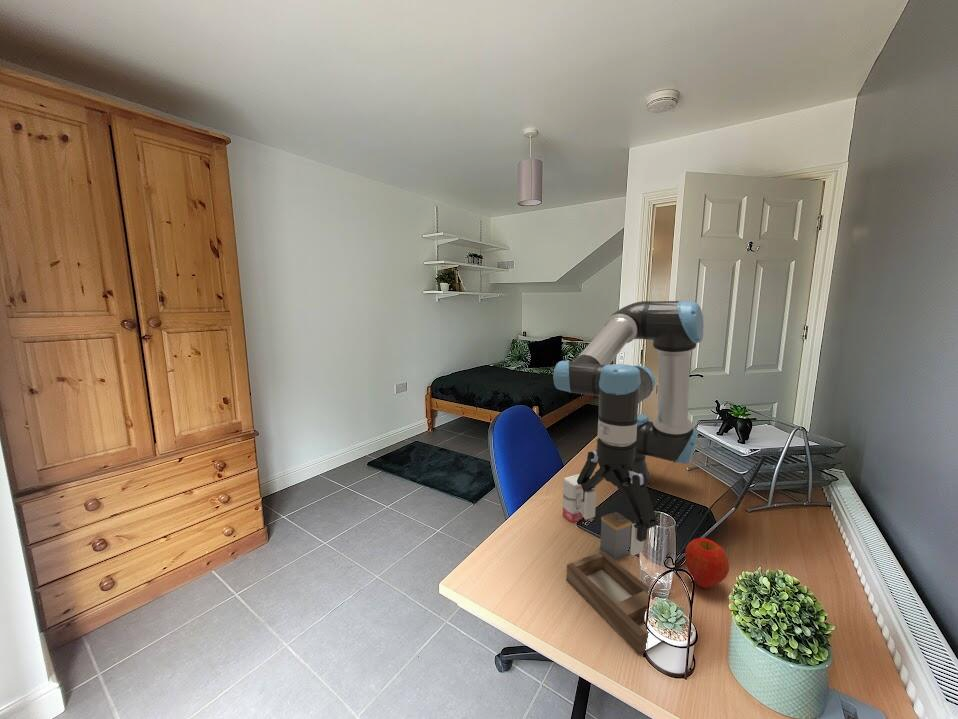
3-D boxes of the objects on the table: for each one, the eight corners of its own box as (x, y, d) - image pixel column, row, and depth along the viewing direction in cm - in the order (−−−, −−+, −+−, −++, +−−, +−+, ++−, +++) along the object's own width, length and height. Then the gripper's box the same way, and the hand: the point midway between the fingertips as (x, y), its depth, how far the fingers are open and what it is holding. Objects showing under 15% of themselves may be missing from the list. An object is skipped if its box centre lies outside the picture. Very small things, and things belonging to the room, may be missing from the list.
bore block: (602, 565, 94) (603, 550, 93) (679, 632, 75) (681, 614, 74) (566, 580, 89) (566, 564, 88) (639, 655, 70) (640, 636, 70)
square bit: (614, 542, 102) (616, 511, 101) (629, 554, 98) (631, 522, 96) (599, 548, 100) (601, 517, 98) (614, 560, 95) (616, 527, 94)
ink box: (572, 523, 111) (573, 485, 109) (561, 514, 115) (562, 478, 113) (594, 515, 115) (596, 478, 113) (583, 507, 119) (585, 472, 117)
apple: (735, 595, 84) (740, 551, 82) (703, 604, 82) (708, 558, 80) (703, 569, 92) (707, 528, 90) (674, 575, 90) (677, 534, 88)
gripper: (563, 424, 88) (560, 509, 92) (654, 467, 66) (646, 577, 70) (588, 419, 91) (585, 501, 95) (683, 459, 69) (674, 564, 73)
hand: (611, 533), depth 82 cm, fingers open, 13 cm apart
